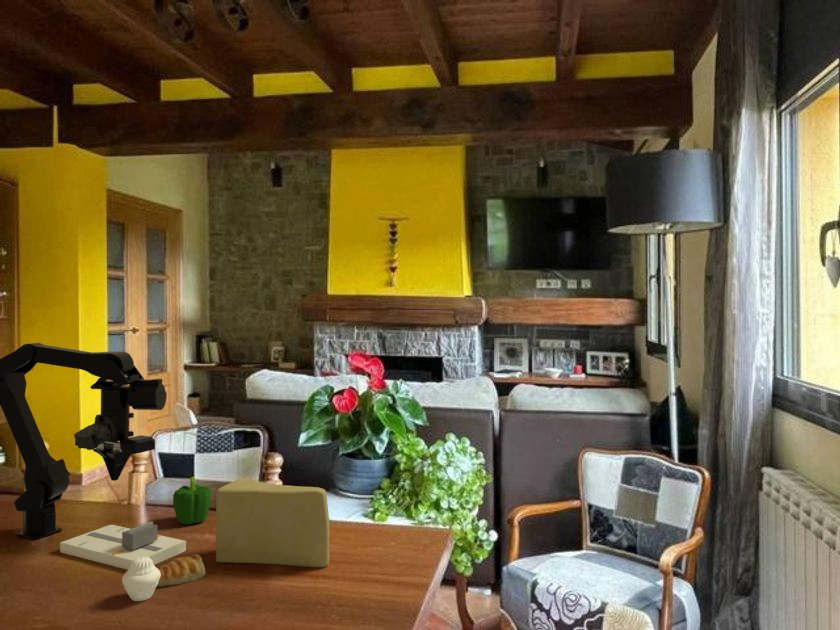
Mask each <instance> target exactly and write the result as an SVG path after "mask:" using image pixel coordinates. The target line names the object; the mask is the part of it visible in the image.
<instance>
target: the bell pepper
mask: <svg viewBox="0 0 840 630" xmlns="http://www.w3.org/2000/svg"><path fill="white" fill-rule="evenodd" d="M172 496H173V497H172V499H173V501H172V503H173V504H172V505H173V508H174V514H175V517H176V519H177V521H178V523H180V524H182V525H187V526H188V525H192V524H196V523H199V524H200V523H203V522H205V521H206V519H207V518H208V515H209V511H210V508H211V501H212V491H211V488H210V486H205V485H204V486H203V485H200V484H198V483H196V478H195V476H191V477H190V486H188V485H182V486H181V487H179V488H178V489H177V490H175V491H174V494H173V495H172Z"/></svg>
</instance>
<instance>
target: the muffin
mask: <svg viewBox="0 0 840 630" xmlns="http://www.w3.org/2000/svg"><path fill="white" fill-rule="evenodd" d="M160 577H161V573H160V571H159V570H158V568H157V567H156V566H155V565H154V564H153V561H152V560H151V559H150V558H149V557H140V558H137V559H135V560H133V561H132V563H131V565H130V568H129V570H127V571H126V572H125V573H124V574H123V576H122V579H121V582H122V585H123V588H124V590H125V591H126V593H127V596H129V598H130V600H131V601H134V602H143V601H146V600H148V599H150V598H152V596H153V594H154V592H155V590H156V589H157V587H158V586H157V585H158V583H159V579H160Z"/></svg>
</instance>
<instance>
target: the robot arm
mask: <svg viewBox="0 0 840 630" xmlns="http://www.w3.org/2000/svg"><path fill="white" fill-rule="evenodd" d="M37 364H45V365H51V366H58V367H63V368H64V367H65V368H69V369H70V368H71V369H74V370H75V369H76V370H82V371H85V372H87V373H89V374H90V375H92V376H95V377H98V378H97V380H96V381H95V382H94V383H93V384H91V385H90V389H91V390H100V414H95V417H94V423H92V424H90V425H87V426H86V427H83V428H82V429H80V430H78V431H77V432H75V433H74V434H73V436H74V439H75V440H74V441H75V442H74V444H75V445H74V446H77V449H80V450H81V449H86V450H87V451H93V452H95V453H97V455H99V456H101V458H102V460H103V462H104V464H105V466H106V469H107V472H108V475H109V478H110V480H111V481H112V482H113V481H114V482H115V481H118V480H119V478H120V476H121V474H122V472H123V470H124V468H125V467H126V464H127V463H128V461H129V459H130V457H131V455H137V454H141V453H145V452H149V451H150V452H151V451H153V450H156V439H155V438H154V437H152V436H151V435H150V436H149V435H148V436H147V435H143V434H141V435H140V434H139V435H136V436H134V435H135V433H134V431H133V430H130V419H134V417H135V416H134V415H135V413H134V412H130V407H131V408H132V409H133V410H135V411H138V410H139V411H142V410H143V411H145V410H146V411H162V410H163V409H164V408H165V406H166V403H167V393H168V392H167V391H166V388H165V387H166V386H165V385H164V384H163V379H162V378H154V379H153V378H152V379H150V378H149V379H145V378H144V376H143V374H141V373H140V371H139V370H138V368H137V367H136V366H135V362H134V359H133V357H132V356H131V354H130V353H129V352H127V351H99V352H98V351H95V352H94V351H93V352H92V351H91V352H90V351H85V350H79V349H74V348H73V349H72V348H67V347H60V346H54V345H48V344H43V343H41V342H32V343H25V344H22V345H21V346H20V347H18V348H17V349H15V350H14V351H12V352H10V353H9V354H7V355H4V356H3V357H1V358H0V408H1V410H2V413H3V415H4V418H5V421H6V423H7V425H8V428H9V429H10V432H11V435H12V436H13V439H14V441H15V443H16V446H17V449H18V452H19V453H20V456H21V458H22V460H23V463H24V466H25V467H24V475H23V482H24V487H25V491H23V493H22V494H20V495H19V496H18V497H17V498H16V499H15V500H14V502H13V504H14V506H15V510H16V511H17V512H22V519H23V520H22V525H23V526H22V530H20V531H18V532H16V533H15V534H16V536H18V537H22V538H25V539H26V538H27V539H29V540H30V539H31V540H37V539H41V538H44V537H47V536H50V535H53V534H56V533H59V532H62V531H63V528H62V527H60V526H59V527H58V526H57V513H56V504H55V503H56V502H58V501H60V500H61V499H62V497H63V494H64V493H65V492H66V491H67V490H68V487H69V485H70V483H71V482H70V481H71V480H70V477H69V476H71V473H70V472H69V470H68V469H67V466H66V463H65V460H64V458H61V459H59V460H56V459H55V458H53V457H52V456H51V454H50V453H49V451H48V448H47V445H46V444H45V441H44V439H43V436H42V433H41V432H40V428H39V427H38V424H37V423H36V420H35V417H34V415H33V413H32V411H31V408H30V405H29V403H28V401H27V398H26V389H27V380H26V376H25V375H27V374H28V373H30V371H32V370H33V369H34V368H35V367H36V365H37Z"/></svg>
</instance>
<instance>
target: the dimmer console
mask: <svg viewBox="0 0 840 630" xmlns="http://www.w3.org/2000/svg"><path fill="white" fill-rule="evenodd" d="M130 529H131V528H128V527H124V526H121V525H120V526H119V525H115V524H109V525H105V526H103V527H100V528H97V529H95V530H92V531H89V532H86V533H84V534H83V533H82V534H80V535H78V536H74V537H72V538H69V539H66V540H64V541H61V542H60V543H59V548H60V549H59V550H60V553H62V554H66V555H69V556H74V557H76V558H81V559H86V560H89V561H93V562H96V563H99V564H104V565H107V566H112V567H115V568H119V569H124V570H127V571H128V570H129V568H130V565H131V563H132V561H133V560H135V559H137V558H140V557H149V558H150V559H151V560H152V561H153V564H154V566H155V565H157V564H159V563H162V562H164V561H166V560H169V559H170V558H172V557H175V556H177V555H179V554H182V553H184V552H186V550H187V541H186V540H183V539H179V538H174V537H171V536H165V535H162V534H157V540H156V541H154V542H151V543H149V544H146V545H144V546H141V547H139V548H137V549H134V550H131V549H127V548H123V547H122V532H124V531H127V530H130Z"/></svg>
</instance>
